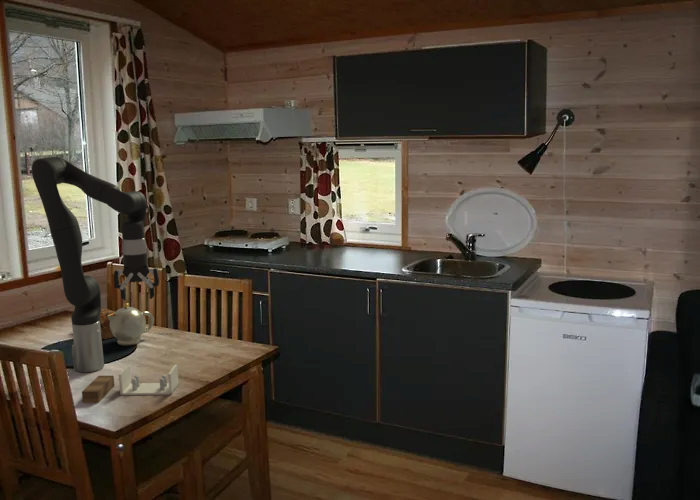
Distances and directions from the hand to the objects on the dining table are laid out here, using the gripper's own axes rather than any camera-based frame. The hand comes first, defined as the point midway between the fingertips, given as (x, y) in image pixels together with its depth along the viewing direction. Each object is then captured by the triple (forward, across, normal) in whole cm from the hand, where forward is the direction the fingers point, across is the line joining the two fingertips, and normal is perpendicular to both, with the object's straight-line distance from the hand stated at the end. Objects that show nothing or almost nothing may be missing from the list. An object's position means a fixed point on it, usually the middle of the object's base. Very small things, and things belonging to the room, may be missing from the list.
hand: (138, 299), depth 215 cm
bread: (+28, +23, -54) cm, 64 cm away
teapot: (+27, +9, -39) cm, 48 cm away
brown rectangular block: (+28, +12, +12) cm, 33 cm away
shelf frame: (+28, -4, +12) cm, 30 cm away
